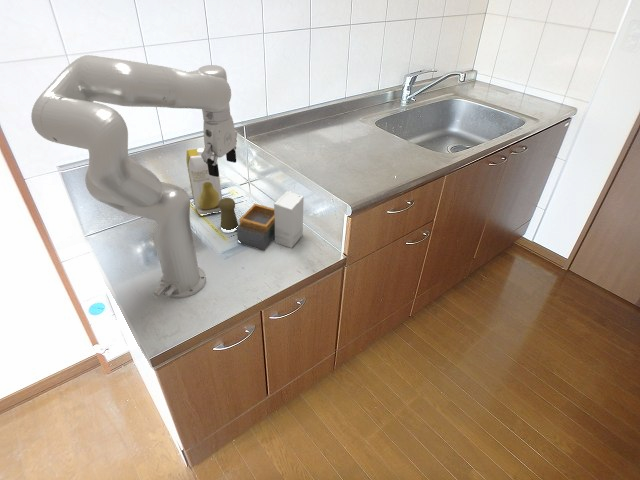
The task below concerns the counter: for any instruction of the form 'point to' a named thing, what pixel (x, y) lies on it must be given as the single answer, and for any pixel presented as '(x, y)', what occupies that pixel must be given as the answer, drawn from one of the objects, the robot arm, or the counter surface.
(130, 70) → the robot arm
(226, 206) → the olive rounded tall piece
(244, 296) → the counter surface
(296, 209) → the skincare box
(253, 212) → the grey open box
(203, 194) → the juice carton
